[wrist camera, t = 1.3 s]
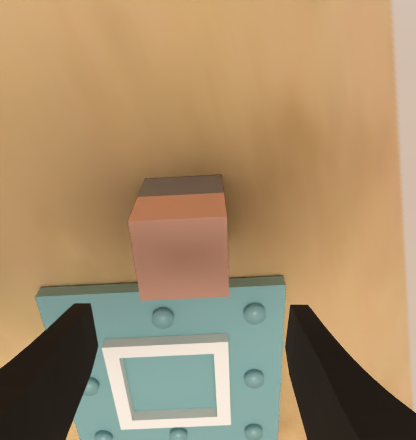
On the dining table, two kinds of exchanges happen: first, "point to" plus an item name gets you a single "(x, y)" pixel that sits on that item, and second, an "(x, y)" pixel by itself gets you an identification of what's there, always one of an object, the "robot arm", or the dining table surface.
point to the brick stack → (180, 238)
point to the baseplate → (180, 362)
